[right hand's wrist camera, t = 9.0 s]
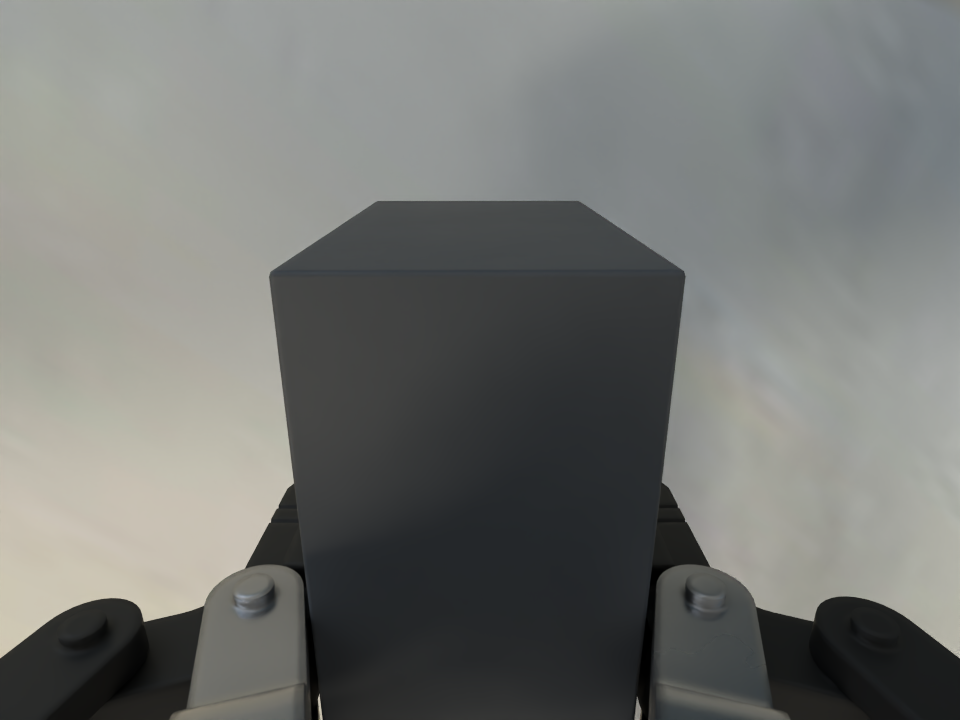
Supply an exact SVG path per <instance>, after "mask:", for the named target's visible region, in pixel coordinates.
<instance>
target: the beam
mask: <svg viewBox="0 0 960 720" xmlns="http://www.w3.org/2000/svg"><path fill="white" fill-rule="evenodd" d="M269 279H270V287H271V296H272V304H273V312H274V320H275V329H276V337H277V345H278V353H279V362H280V370H281V378H282V387H283V395H284V403H285V411H286V420H287V428H288V436H289V444H290V453H291V461H292V469H293V478H294V486H295V494H296V502H297V511H298V519H299V527H300V535H301V544H302V552H303V560H304V569H305V577H306V585H307V593H308V602H309V610H310V618H311V626H312V635H313V643H314V651H315V660H316V668H317V676H318V684H319V693H320V701H321V709H322V717H323V720H634V717H635V708H636V699H637V691H638V682H639V674H640V665H641V656H642V648H643V639H644V630H645V622H646V613H647V604H648V596H649V587H650V578H651V570H652V561H653V552H654V544H655V535H656V526H657V518H658V509H659V500H660V492H661V483H662V474H663V466H664V457H665V448H666V440H667V431H668V422H669V414H670V405H671V396H672V388H673V379H674V370H675V362H676V353H677V344H678V336H679V327H680V318H681V310H682V301H683V293H684V284H685V273H684V271H683V270H681V269H680V268H678V267H677V266H675V265H674V264H672V263H671V262H669V261H668V260H666V259H665V258H663V257H662V256H660V255H659V254H657V253H656V252H654V251H653V250H651V249H650V248H648V247H647V246H645V245H644V244H642V243H641V242H639V241H638V240H636V239H635V238H633V237H632V236H630V235H629V234H627V233H626V232H624V231H623V230H621V229H620V228H618V227H617V226H615V225H614V224H613V223H611V222H610V221H608V220H607V219H605V218H604V217H602V216H601V215H599V214H598V213H596V212H595V211H593V210H592V209H590V208H589V207H587V206H586V205H584V204H583V203H581V202H579V201H377V202H375V203H374V204H372V205H371V206H369V207H368V208H366V209H365V210H363V211H362V212H360V213H359V214H357V215H356V216H354V217H353V218H351V219H350V220H348V221H347V222H345V223H344V224H342V225H341V226H339V227H338V228H336V229H335V230H333V231H332V232H330V233H329V234H327V235H326V236H324V237H323V238H321V239H320V240H318V241H317V242H315V243H313V244H312V245H310V246H309V247H307V248H306V249H304V250H303V251H301V252H300V253H298V254H297V255H295V256H294V257H292V258H291V259H289V260H288V261H286V262H285V263H283V264H282V265H280V266H279V267H277V268H276V269H274V270H273V271H271V272H270V276H269Z"/></svg>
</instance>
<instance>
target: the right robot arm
mask: <svg viewBox="0 0 960 720" xmlns="http://www.w3.org/2000/svg"><path fill="white" fill-rule="evenodd" d="M318 696H319V684H318V676H317V668H316V660H315V651H314V643H313V635H312V626H311V618H310V610H309V602H308V593H307V585H306V577H305V569H304V560H303V552H302V544H301V535H300V527H299V519H298V511H297V502H296V494H295V486H294V484H293V485H292V486H290V487H289V488H288V489H287V491H286V493H285V495H284V496H283V498H282V500H281V502H280V504H279V509H277V510H276V511H275V513H274V515H273V517H272V519H271V523H269V525H268V526H267V528H266V530H265V532H264V534H263V536H262V538H261V539H260V541H259V543H258V545H257V547H256V549H255V551H254V553H253V554H252V556H251V558H250V560H249V562H248V564H247V566H246V568H245V569H243V570H240V571H238V572H236V573H234V574H232V575H230V576H228V577H227V578H225V579H224V580H222V581H221V582H220V583H219V584H218V585H216V586H215V587H214V588H213V590H212V591H211V592H210V593H209V595H208V597H207V599H206V602H205V605H204V606H203V607H200V608H198V609H195V610H192V611H189V612H185V613H181V614H177V615H173V616H168V617H164V618H160V619H155V620H151V621H147V622H144V621H143V617H142V613H141V610H140V609H139V607H138V606H137V605H136V604H134V603H133V602H131V601H128V600H124V599H117V598H109V599H100V600H95V601H91V602H87V603H84V604H81V605H78V606H76V607H73V608H71V609H69V610H67V611H65V612H63V613H61V614H59V615H58V616H56V617H54V618H53V619H52V620H50V621H49V622H47V623H46V624H45V625H43V626H42V627H41V628H39V629H38V630H37V631H35V632H34V633H33V634H32V635H30V636H29V637H28V638H26V639H25V640H24V641H22V642H21V643H20V644H19V645H17V646H16V647H15V648H13V649H12V650H11V651H9V652H8V653H7V654H6V655H4V656H3V657H2V658H0V720H320V714H319V706H318ZM637 697H638V700H639V704H640V707H641V714H640V720H960V658H958V657H957V656H956V655H954V654H953V653H952V652H951V651H949V650H948V649H947V648H945V647H944V646H943V645H941V644H940V643H939V642H938V641H936V640H935V639H934V638H932V637H931V636H930V635H928V634H927V633H926V632H925V631H923V630H922V629H921V628H919V627H918V626H917V625H915V624H914V623H913V622H912V621H910V620H909V619H907V618H906V617H904V616H903V615H901V614H900V613H898V612H896V611H894V610H892V609H890V608H888V607H886V606H884V605H881V604H879V603H876V602H873V601H870V600H866V599H862V598H856V597H835V598H830V599H828V600H825V601H824V602H822V603H821V604H820V605H819V607H818V608H817V611H816V614H815V619H814V622H812V621H808V620H804V619H799V618H795V617H791V616H786V615H782V614H778V613H773V612H770V611H766V610H763V609H760V608H757V607H756V606H755V602H754V599H753V597H752V595H751V593H750V592H749V591H748V590H747V588H746V587H745V586H744V585H742V584H741V583H740V582H739V581H738V580H736V579H735V578H733V577H732V576H730V575H728V574H726V573H724V572H722V571H720V570H717V569H714V568H711V567H710V566H709V564H708V562H707V560H706V558H705V556H704V554H703V552H702V550H701V548H700V547H699V545H698V543H697V541H696V539H695V537H694V535H693V533H692V531H691V529H690V528H689V526H688V524H687V522H685V518H684V516H683V514H682V512H681V510H680V509H679V508H678V505H677V503H676V501H675V499H674V497H673V495H672V493H671V491H670V490H669V488H668V487H667V486H665V485H664V484H663V483H661V492H660V500H659V509H658V518H657V526H656V535H655V544H654V552H653V561H652V570H651V578H650V587H649V596H648V604H647V613H646V622H645V630H644V639H643V648H642V656H641V665H640V674H639V682H638V691H637Z"/></svg>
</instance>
